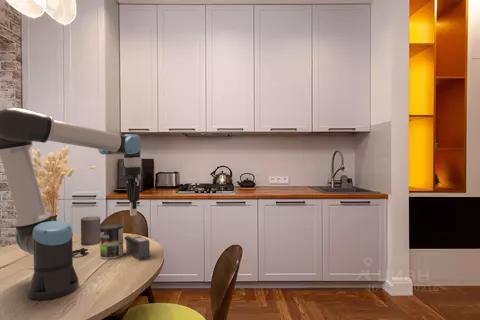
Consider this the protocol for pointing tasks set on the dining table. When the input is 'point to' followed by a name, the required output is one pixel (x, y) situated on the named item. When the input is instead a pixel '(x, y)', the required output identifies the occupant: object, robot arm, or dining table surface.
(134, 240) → the box
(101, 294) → the dining table surface
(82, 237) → the pillar candle
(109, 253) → the coffee can
